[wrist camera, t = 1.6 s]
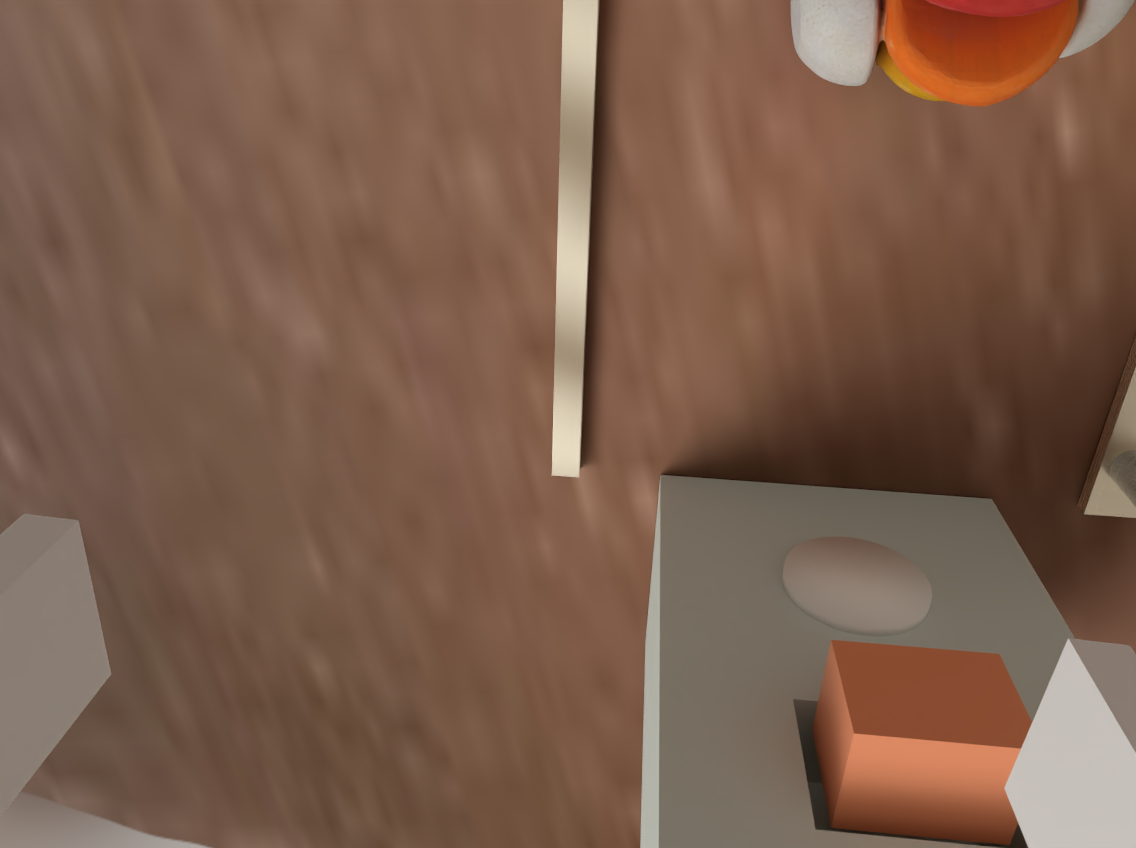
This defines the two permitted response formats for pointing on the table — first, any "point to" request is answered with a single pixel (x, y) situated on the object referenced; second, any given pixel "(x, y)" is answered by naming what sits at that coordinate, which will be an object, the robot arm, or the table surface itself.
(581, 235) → the cream square stick
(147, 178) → the table surface
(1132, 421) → the handrail
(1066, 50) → the rainbow petal baby toy
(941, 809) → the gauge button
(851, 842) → the cabinet
